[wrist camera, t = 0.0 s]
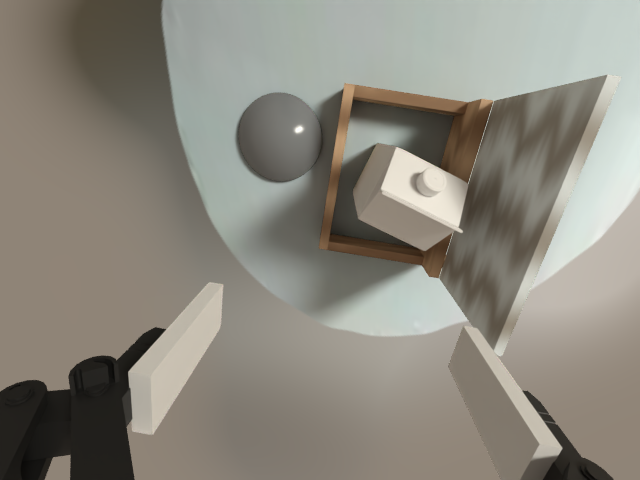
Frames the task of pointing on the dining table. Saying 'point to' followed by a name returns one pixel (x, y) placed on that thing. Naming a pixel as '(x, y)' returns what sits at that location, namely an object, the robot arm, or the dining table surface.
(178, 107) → the dining table surface
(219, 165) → the dining table surface
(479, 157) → the cold frame
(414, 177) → the milk carton
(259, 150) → the disc
